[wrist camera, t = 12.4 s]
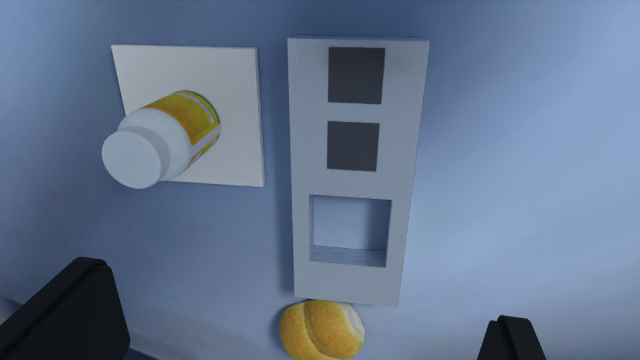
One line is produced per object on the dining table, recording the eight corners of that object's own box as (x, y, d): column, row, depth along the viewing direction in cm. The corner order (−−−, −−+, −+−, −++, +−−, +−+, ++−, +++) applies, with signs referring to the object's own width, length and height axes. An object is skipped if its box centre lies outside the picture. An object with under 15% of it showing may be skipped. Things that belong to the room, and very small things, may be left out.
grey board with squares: (294, 34, 30) (286, 38, 28) (426, 37, 29) (430, 41, 27) (299, 280, 41) (294, 297, 38) (396, 289, 40) (398, 308, 37)
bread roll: (269, 308, 43) (259, 336, 40) (341, 284, 41) (337, 312, 37) (305, 358, 46) (299, 389, 42) (375, 339, 43) (374, 371, 40)
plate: (116, 44, 33) (110, 45, 32) (257, 47, 31) (254, 48, 30) (143, 175, 38) (139, 178, 37) (265, 183, 36) (263, 187, 36)
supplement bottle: (221, 154, 35) (170, 207, 26) (163, 141, 35) (93, 189, 26) (226, 95, 32) (171, 132, 24) (163, 81, 33) (87, 113, 24)
